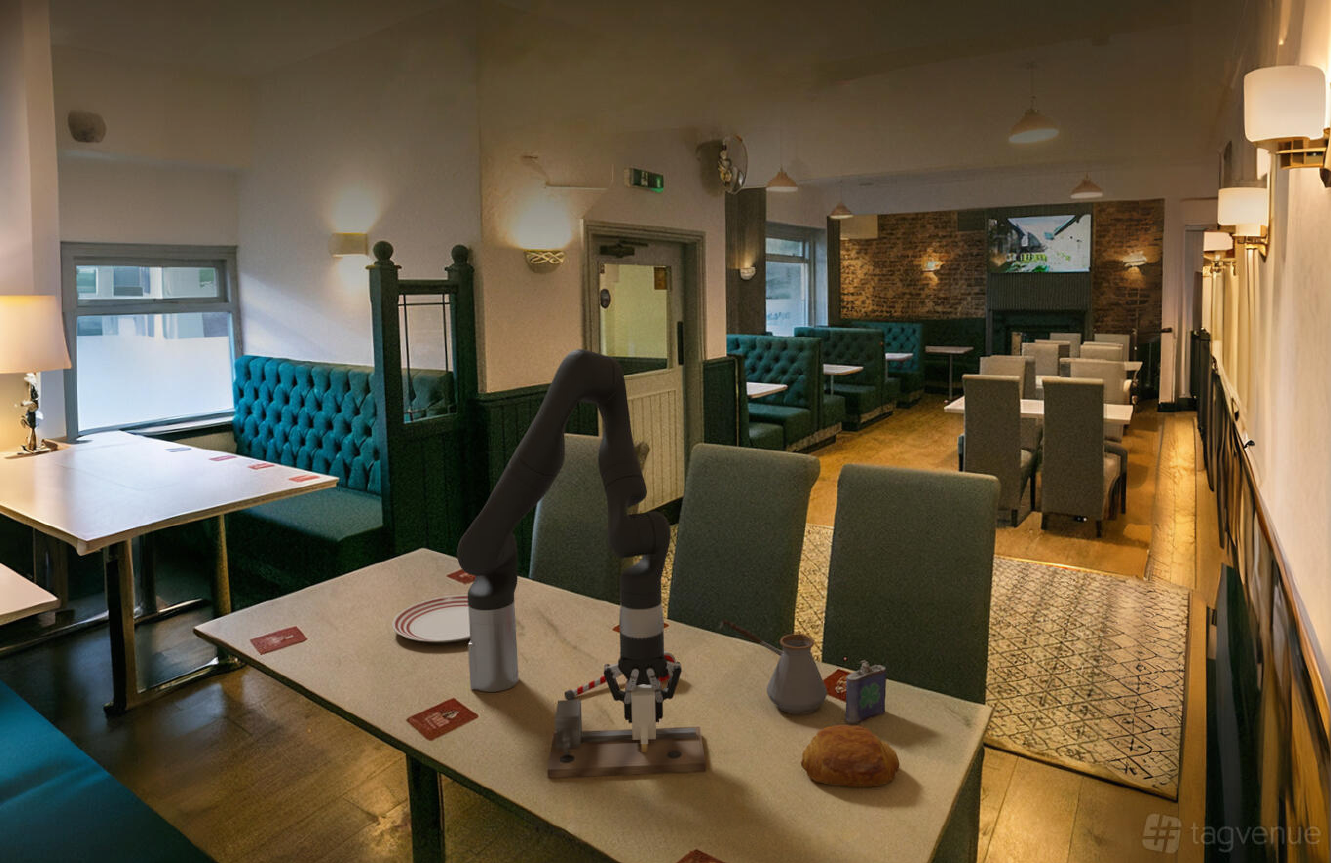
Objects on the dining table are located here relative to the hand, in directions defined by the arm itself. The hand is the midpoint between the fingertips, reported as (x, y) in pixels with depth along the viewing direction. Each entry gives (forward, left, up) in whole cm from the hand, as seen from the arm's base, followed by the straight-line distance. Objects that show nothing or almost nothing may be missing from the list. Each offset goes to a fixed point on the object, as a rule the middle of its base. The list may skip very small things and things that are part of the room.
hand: (643, 719), depth 149 cm
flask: (+41, +7, -5) cm, 42 cm away
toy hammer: (-3, +26, -5) cm, 27 cm away
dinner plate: (-45, +58, -5) cm, 74 cm away
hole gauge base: (-3, -3, -5) cm, 6 cm away
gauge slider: (0, -2, -2) cm, 3 cm away
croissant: (+34, -10, -5) cm, 35 cm away
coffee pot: (+25, +15, -5) cm, 30 cm away
